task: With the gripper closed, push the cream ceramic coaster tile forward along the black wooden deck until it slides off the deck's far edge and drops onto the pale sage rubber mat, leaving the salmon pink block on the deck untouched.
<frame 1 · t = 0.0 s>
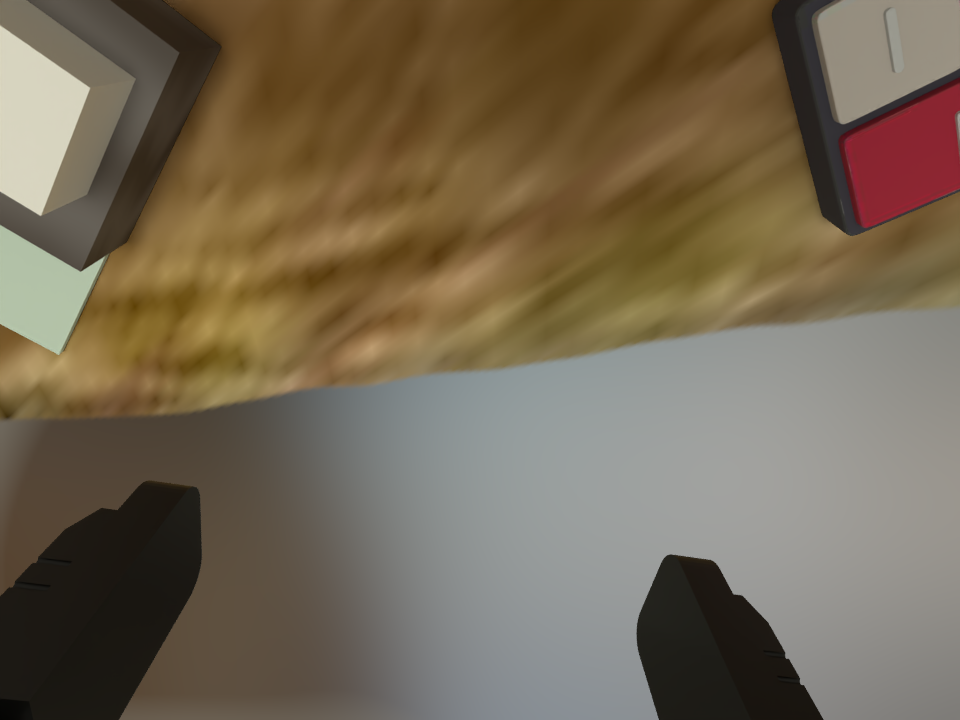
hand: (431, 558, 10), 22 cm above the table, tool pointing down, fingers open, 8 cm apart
cream tile: (10, 73, 22), point 4 cm above the table, touching deck
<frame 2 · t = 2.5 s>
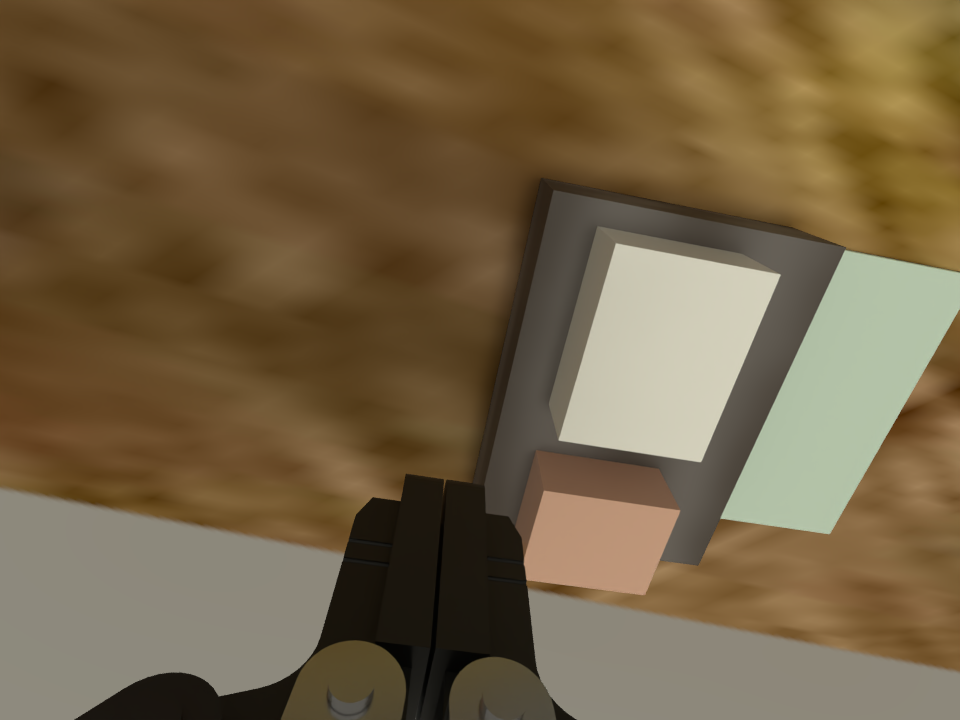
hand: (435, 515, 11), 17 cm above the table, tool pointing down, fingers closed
salmon pink block: (584, 501, 27), point 4 cm above the table, touching deck
mat: (813, 402, 30), on the table
cream tile: (639, 333, 23), point 4 cm above the table, touching deck
deck: (616, 369, 28), on the table
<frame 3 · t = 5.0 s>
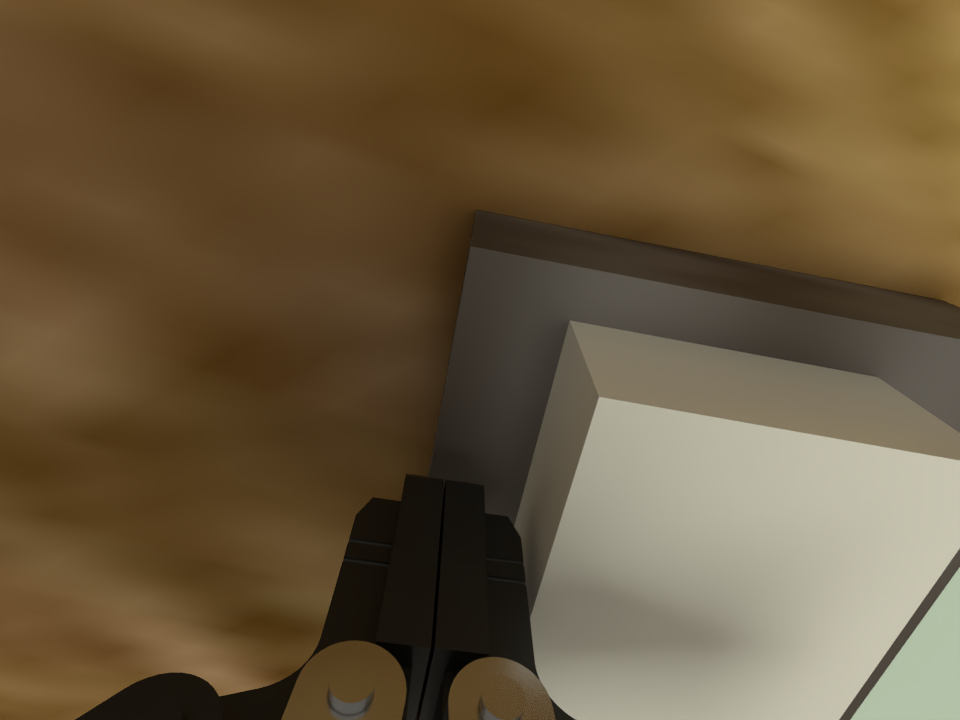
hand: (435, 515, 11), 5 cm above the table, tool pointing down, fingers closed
mat: (950, 578, 18), on the table
cream tile: (658, 516, 12), point 4 cm above the table, touching deck, gripper
deck: (617, 524, 17), on the table
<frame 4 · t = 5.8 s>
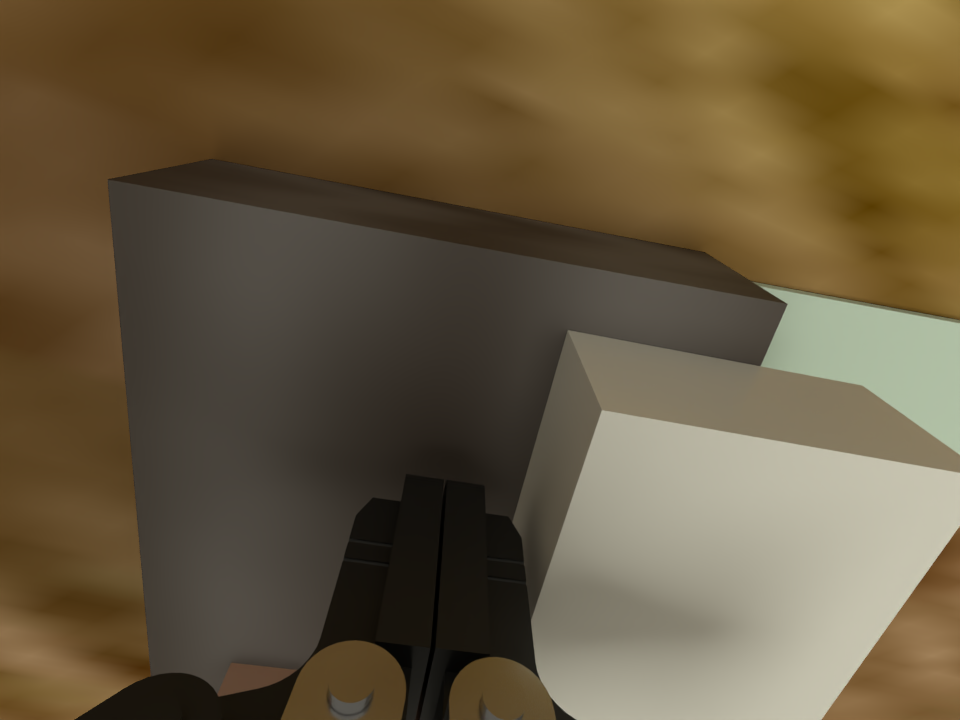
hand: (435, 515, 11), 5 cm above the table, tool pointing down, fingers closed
mat: (759, 538, 18), on the table
cream tile: (651, 520, 12), point 4 cm above the table, touching gripper
deck: (418, 490, 17), on the table
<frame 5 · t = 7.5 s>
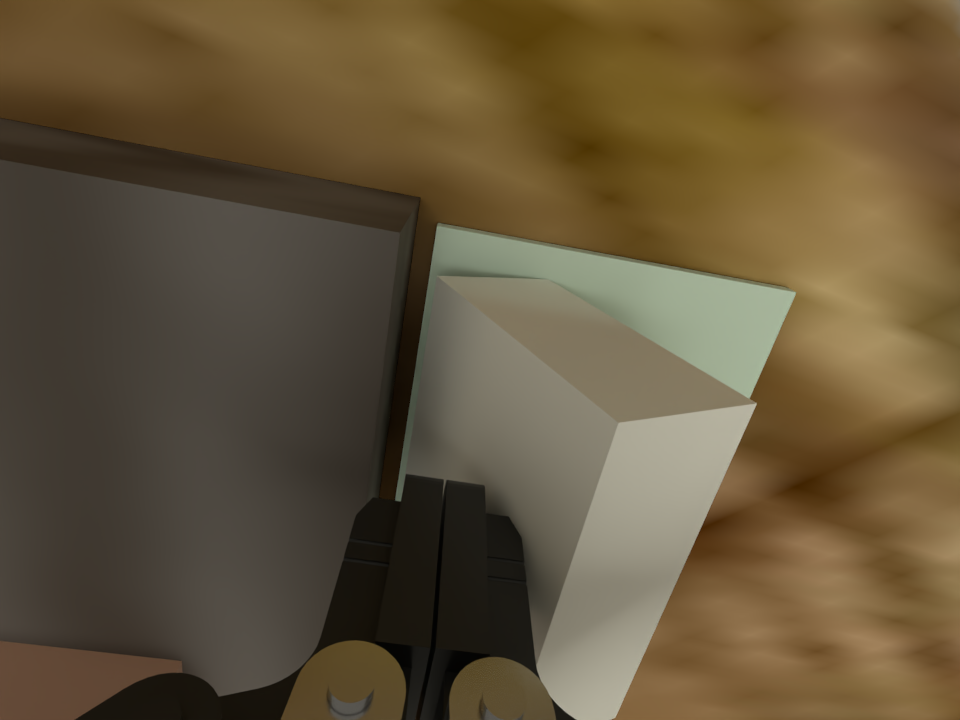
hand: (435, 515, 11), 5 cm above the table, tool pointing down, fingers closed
salmon pink block: (67, 712, 14), point 4 cm above the table, touching deck
mat: (543, 509, 17), on the table
cream tile: (466, 510, 11), point 4 cm above the table, tilted 117°, touching mat
deck: (173, 457, 16), on the table
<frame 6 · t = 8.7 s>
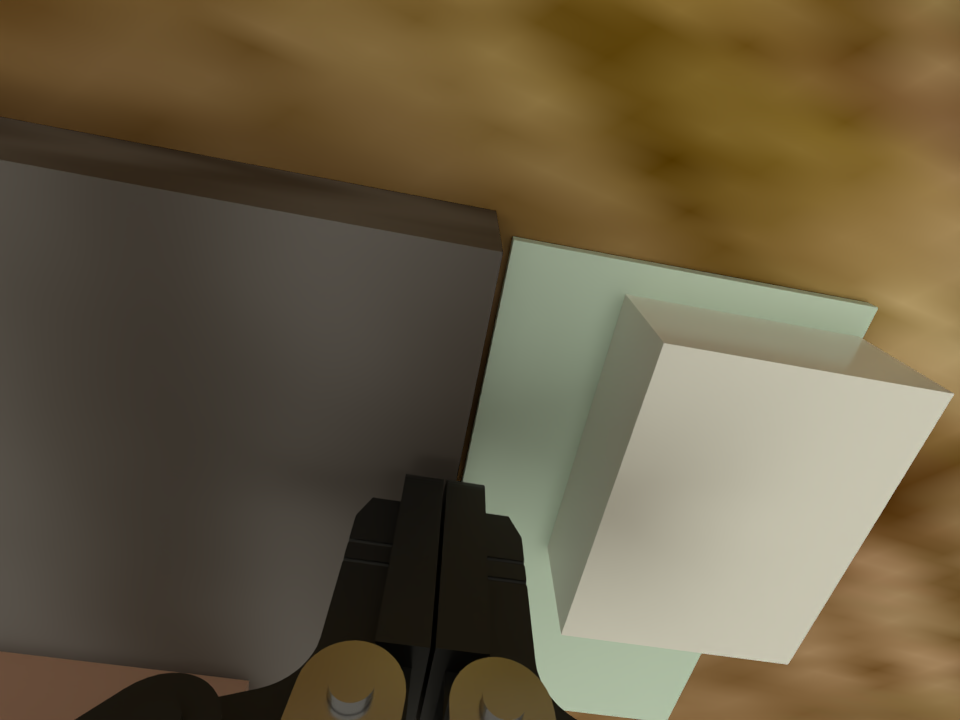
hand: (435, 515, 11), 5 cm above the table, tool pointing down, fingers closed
mat: (604, 525, 17), on the table
cream tile: (735, 528, 12), point 3 cm above the table, tilted 180°, touching mat
deck: (231, 470, 16), on the table
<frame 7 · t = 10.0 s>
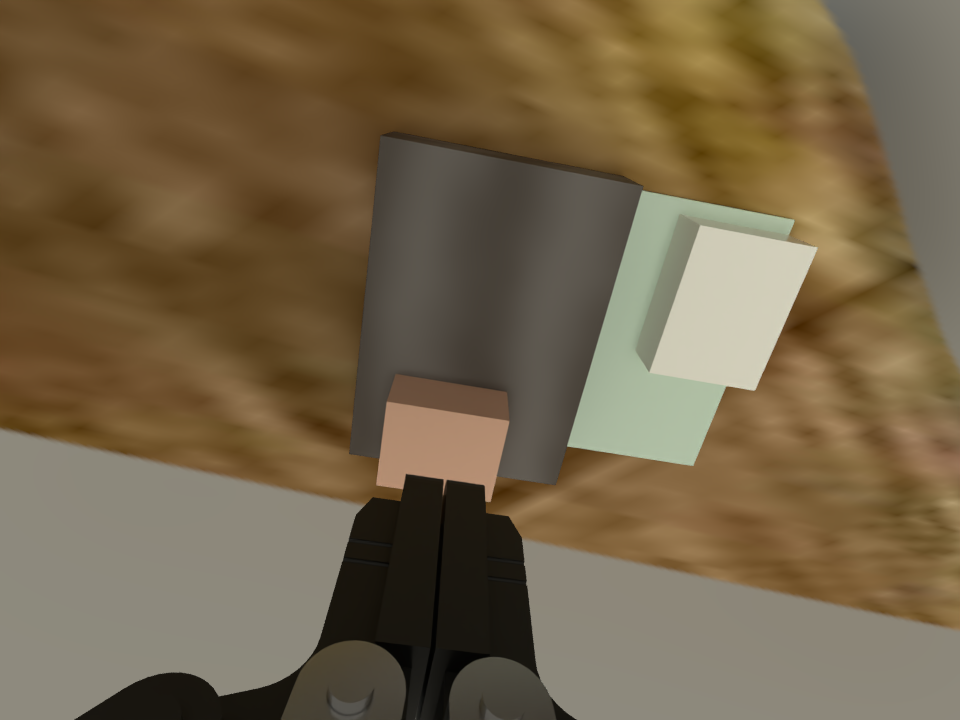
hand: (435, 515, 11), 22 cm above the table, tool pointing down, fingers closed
salmon pink block: (444, 422, 30), point 4 cm above the table, touching deck
mat: (663, 340, 33), on the table
cream tile: (729, 313, 28), point 3 cm above the table, tilted 180°, touching mat
deck: (480, 308, 32), on the table
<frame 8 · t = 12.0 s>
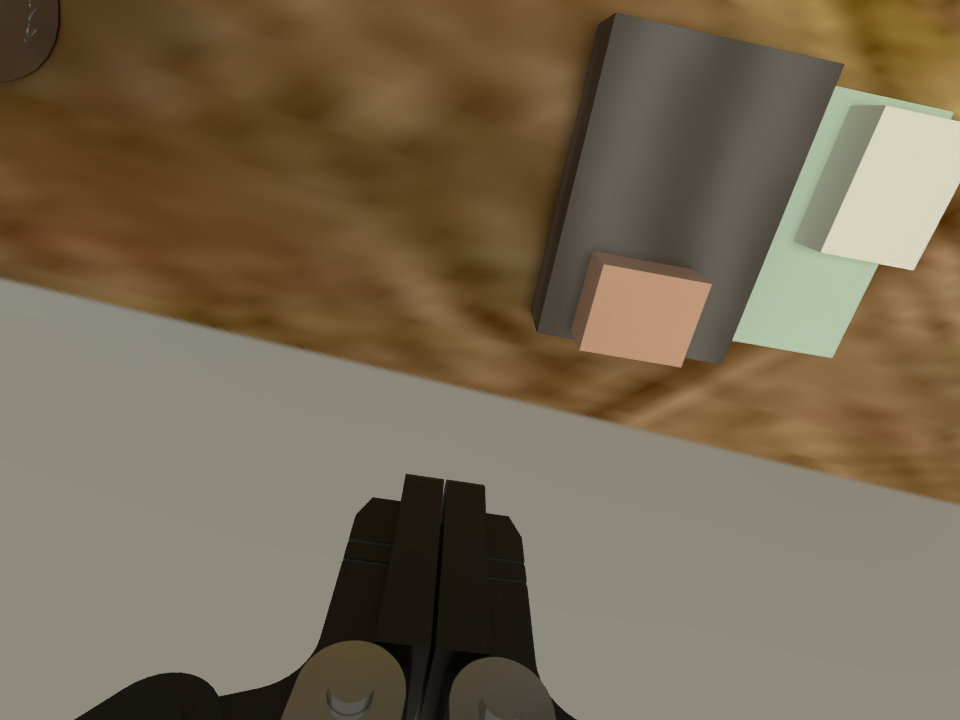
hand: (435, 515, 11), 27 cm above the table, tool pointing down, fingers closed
salmon pink block: (629, 300, 33), point 4 cm above the table, touching deck
mat: (818, 232, 35), on the table
cream tile: (900, 192, 31), point 3 cm above the table, tilted 180°, touching mat
deck: (654, 200, 34), on the table
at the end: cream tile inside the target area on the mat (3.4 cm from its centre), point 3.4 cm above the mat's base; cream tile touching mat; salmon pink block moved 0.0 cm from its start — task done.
